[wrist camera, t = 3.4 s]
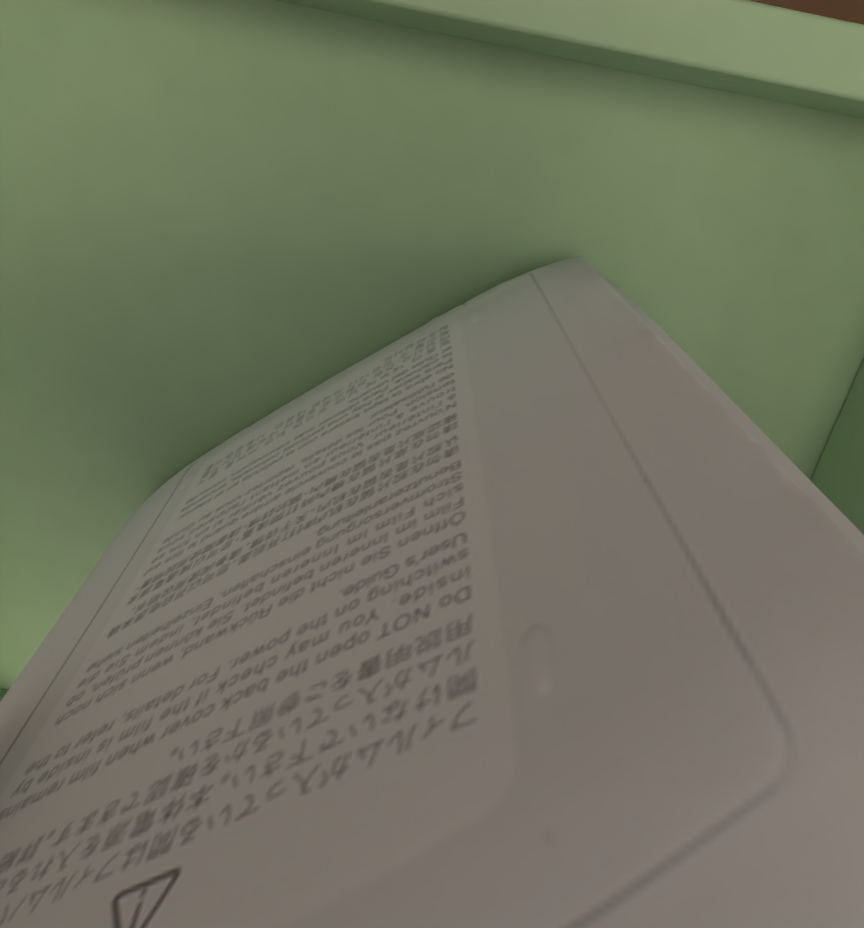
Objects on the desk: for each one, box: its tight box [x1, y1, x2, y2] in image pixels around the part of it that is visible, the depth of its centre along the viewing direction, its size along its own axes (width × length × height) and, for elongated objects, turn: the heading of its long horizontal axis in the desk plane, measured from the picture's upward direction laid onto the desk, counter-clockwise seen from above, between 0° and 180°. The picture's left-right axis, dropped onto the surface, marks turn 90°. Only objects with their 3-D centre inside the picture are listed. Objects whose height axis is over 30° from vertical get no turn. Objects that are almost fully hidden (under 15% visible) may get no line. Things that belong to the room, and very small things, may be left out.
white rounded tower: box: [0, 256, 864, 928], centre depth 9 cm, size 10×4×12 cm, turn 121°
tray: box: [0, 0, 864, 702], centre depth 13 cm, size 18×16×3 cm
